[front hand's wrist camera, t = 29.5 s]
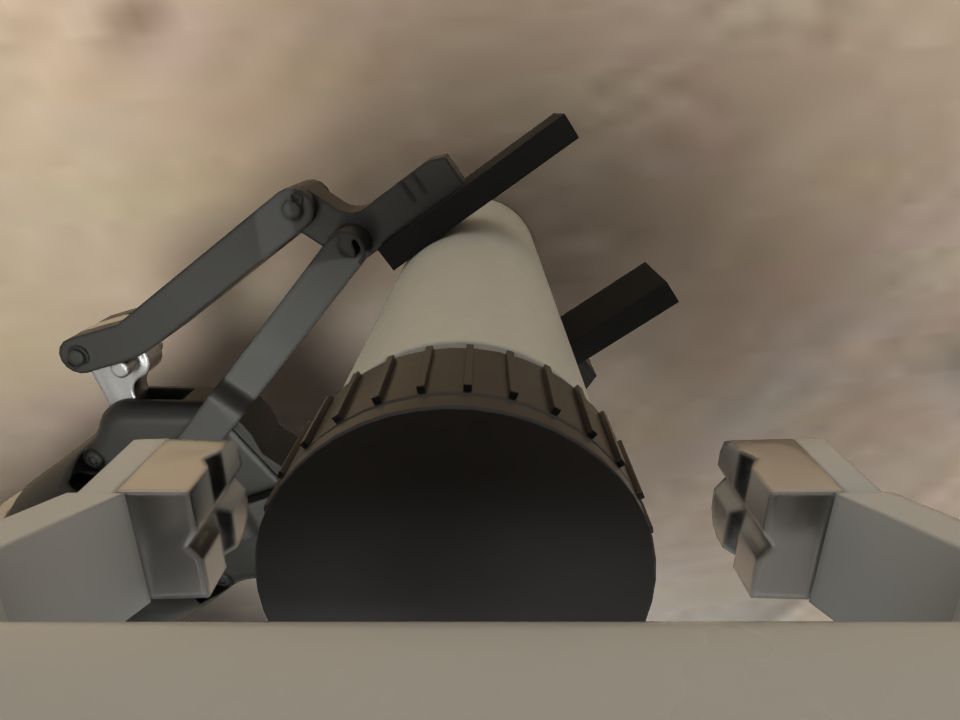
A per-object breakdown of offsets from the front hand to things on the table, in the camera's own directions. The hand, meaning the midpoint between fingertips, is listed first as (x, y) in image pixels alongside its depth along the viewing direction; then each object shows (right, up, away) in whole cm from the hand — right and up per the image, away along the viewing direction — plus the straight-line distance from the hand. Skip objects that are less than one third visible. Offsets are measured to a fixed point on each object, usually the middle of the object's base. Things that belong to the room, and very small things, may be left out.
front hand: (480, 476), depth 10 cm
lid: (0, -1, -1) cm, 2 cm away
